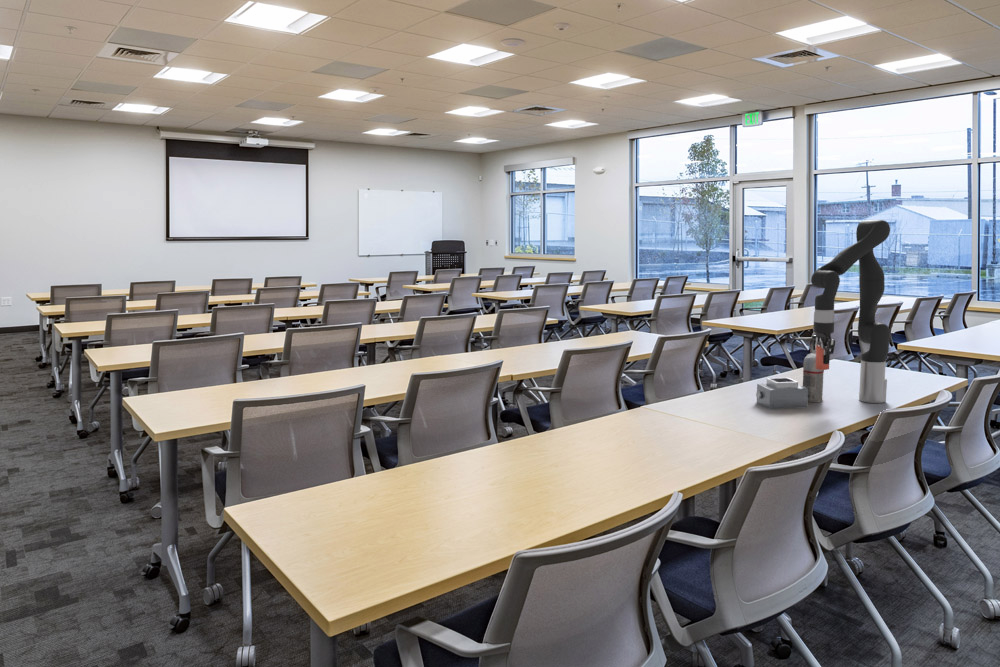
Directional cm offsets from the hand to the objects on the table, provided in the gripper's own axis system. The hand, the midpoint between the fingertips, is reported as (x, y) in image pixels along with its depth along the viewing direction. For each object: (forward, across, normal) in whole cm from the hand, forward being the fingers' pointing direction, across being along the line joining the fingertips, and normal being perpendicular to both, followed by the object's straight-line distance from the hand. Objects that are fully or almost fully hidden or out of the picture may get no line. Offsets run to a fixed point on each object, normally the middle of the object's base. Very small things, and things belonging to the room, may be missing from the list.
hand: (822, 362), depth 286 cm
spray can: (+19, +14, -4) cm, 24 cm away
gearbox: (+19, +9, +12) cm, 24 cm away
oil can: (+2, 0, 0) cm, 2 cm away
